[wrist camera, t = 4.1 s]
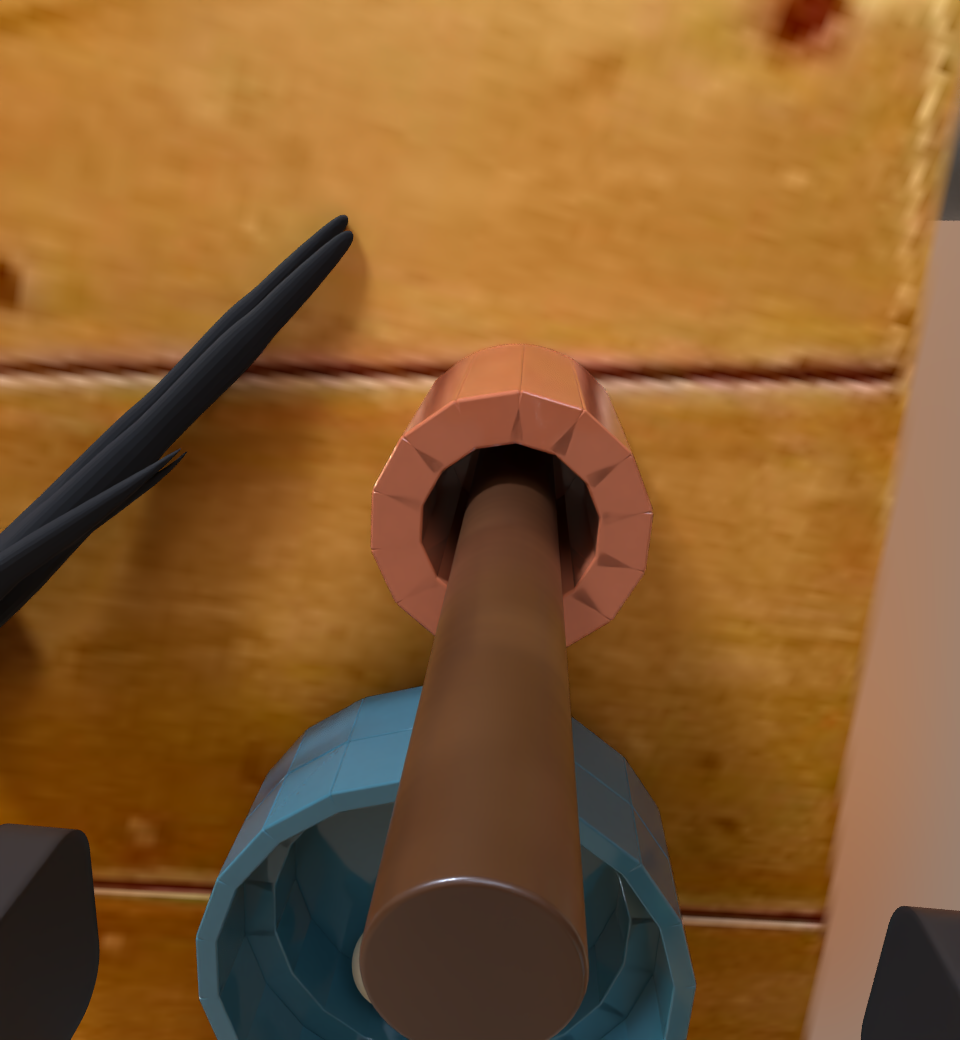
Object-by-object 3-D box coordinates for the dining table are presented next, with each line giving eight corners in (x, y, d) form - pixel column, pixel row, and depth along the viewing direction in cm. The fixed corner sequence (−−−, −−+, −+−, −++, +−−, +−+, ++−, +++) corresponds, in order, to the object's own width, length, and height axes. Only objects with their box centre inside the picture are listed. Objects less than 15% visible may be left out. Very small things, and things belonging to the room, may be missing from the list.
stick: (555, 418, 27) (602, 893, 8) (548, 487, 28) (576, 1073, 9) (482, 412, 27) (359, 870, 8) (478, 481, 28) (355, 1051, 9)
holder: (630, 349, 27) (669, 400, 19) (607, 551, 29) (633, 670, 21) (419, 334, 27) (373, 379, 19) (411, 535, 29) (367, 648, 21)
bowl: (693, 696, 30) (730, 807, 24) (639, 1035, 35) (659, 1192, 30) (249, 658, 31) (184, 758, 25) (258, 997, 36) (206, 1144, 30)
